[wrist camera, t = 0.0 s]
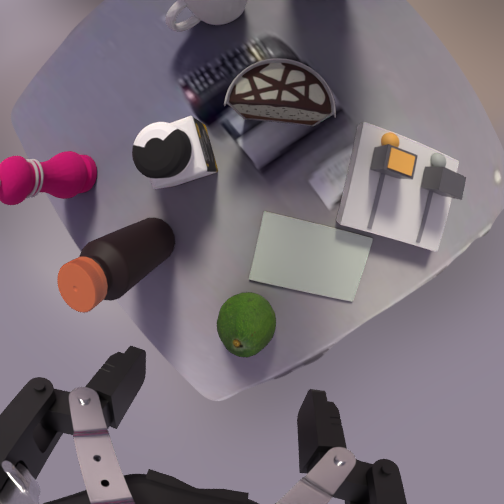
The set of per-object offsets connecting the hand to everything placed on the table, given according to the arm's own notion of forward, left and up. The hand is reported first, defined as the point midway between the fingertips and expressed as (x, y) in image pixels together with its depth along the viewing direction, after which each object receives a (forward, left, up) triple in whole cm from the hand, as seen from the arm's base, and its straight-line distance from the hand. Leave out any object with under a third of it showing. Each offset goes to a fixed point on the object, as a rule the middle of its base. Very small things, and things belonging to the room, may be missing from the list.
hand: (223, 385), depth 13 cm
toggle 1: (-15, +14, -26) cm, 33 cm away
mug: (-33, -14, -30) cm, 46 cm away
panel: (-12, +18, -29) cm, 37 cm away
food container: (-20, -1, -30) cm, 36 cm away
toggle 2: (-15, +22, -26) cm, 37 cm away
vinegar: (+3, -15, -30) cm, 33 cm away
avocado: (+10, +1, -30) cm, 31 cm away
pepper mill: (-5, -30, -30) cm, 42 cm away
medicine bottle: (-10, -12, -30) cm, 33 cm away
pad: (+1, +8, -29) cm, 30 cm away
